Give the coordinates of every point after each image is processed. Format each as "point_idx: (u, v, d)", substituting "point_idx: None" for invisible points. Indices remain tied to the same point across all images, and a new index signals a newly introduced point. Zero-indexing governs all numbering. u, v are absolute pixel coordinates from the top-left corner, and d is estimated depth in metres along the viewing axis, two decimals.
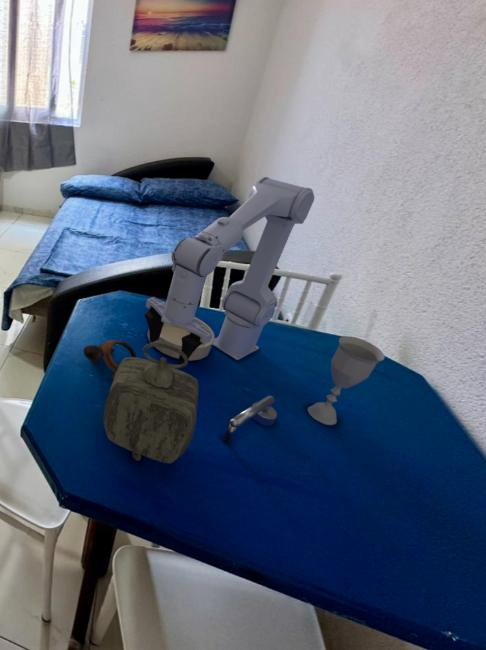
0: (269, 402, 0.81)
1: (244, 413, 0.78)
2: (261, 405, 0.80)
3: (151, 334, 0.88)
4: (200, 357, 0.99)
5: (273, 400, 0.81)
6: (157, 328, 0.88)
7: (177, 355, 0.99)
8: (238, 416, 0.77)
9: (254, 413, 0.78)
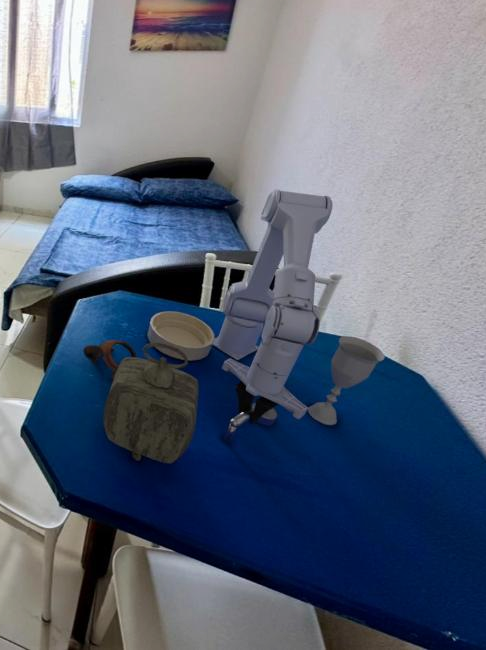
0: None
1: (244, 413, 0.78)
2: None
3: (241, 408, 0.79)
4: (200, 357, 0.99)
5: None
6: (248, 402, 0.78)
7: (177, 355, 0.99)
8: (238, 416, 0.77)
9: None
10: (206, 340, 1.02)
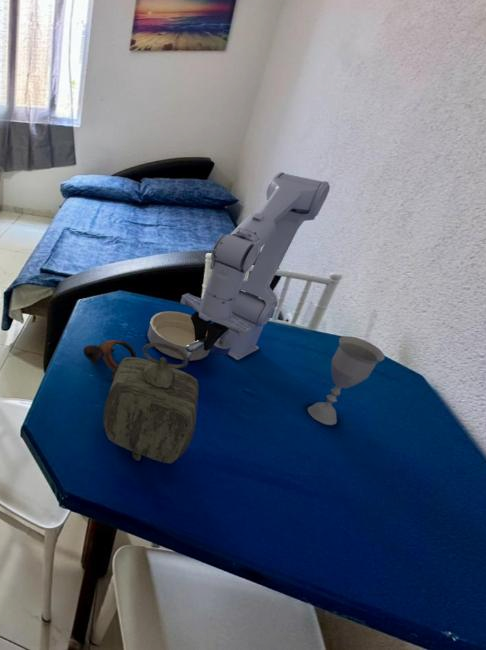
0: None
1: (199, 340, 0.86)
2: None
3: (197, 337, 0.87)
4: (200, 357, 0.99)
5: (227, 331, 0.90)
6: (203, 331, 0.87)
7: (177, 355, 0.99)
8: (193, 342, 0.86)
9: None
10: None
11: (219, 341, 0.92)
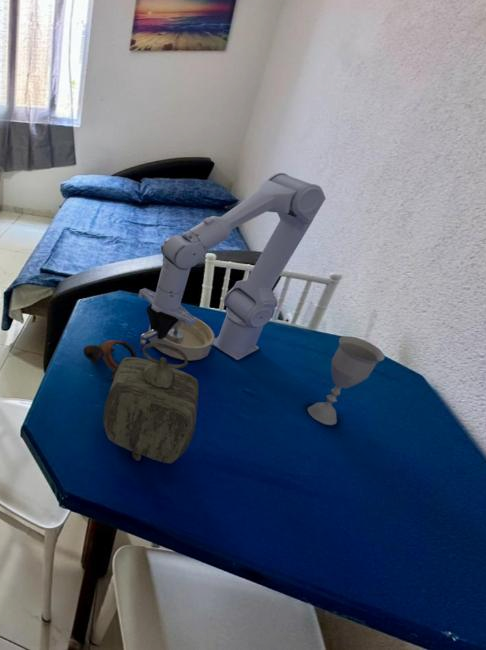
0: (176, 323, 0.99)
1: (153, 330, 0.96)
2: None
3: (152, 327, 0.97)
4: (200, 357, 0.99)
5: (180, 322, 1.00)
6: (157, 321, 0.97)
7: (177, 355, 0.99)
8: (148, 332, 0.96)
9: None
10: (206, 340, 1.02)
11: (174, 331, 1.02)
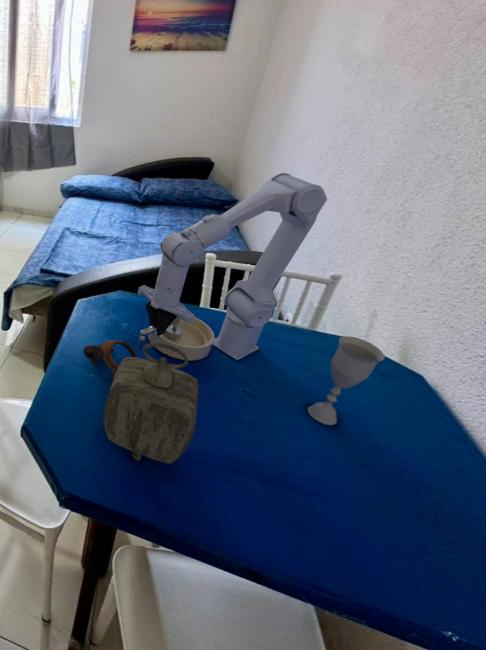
0: (175, 320, 1.01)
1: (152, 326, 0.98)
2: None
3: (151, 323, 0.99)
4: (200, 357, 0.99)
5: (179, 319, 1.01)
6: (156, 318, 0.98)
7: (177, 355, 0.99)
8: (147, 328, 0.97)
9: None
10: (206, 340, 1.02)
11: (173, 328, 1.03)
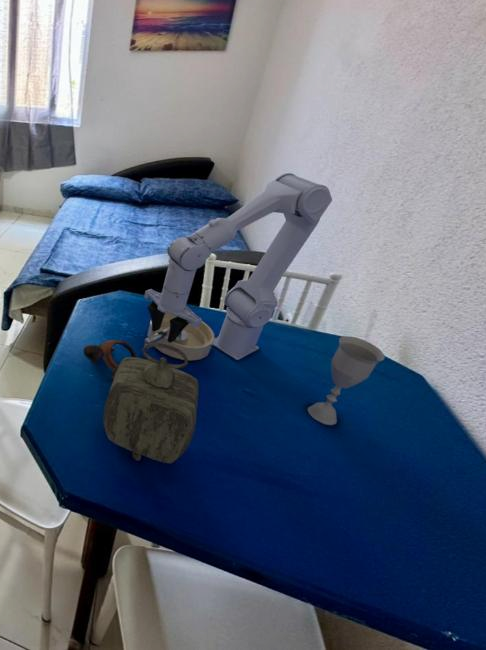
0: None
1: (157, 334, 0.98)
2: None
3: (153, 324, 1.00)
4: (200, 357, 0.99)
5: None
6: (158, 319, 1.00)
7: (177, 355, 0.99)
8: (151, 336, 0.98)
9: (165, 334, 0.99)
10: (206, 340, 1.02)
11: None
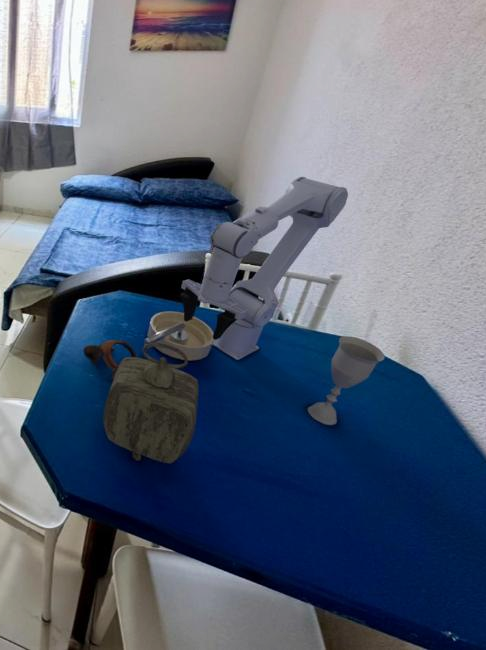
0: (180, 326, 1.01)
1: (157, 334, 0.98)
2: (172, 328, 1.00)
3: (186, 313, 0.95)
4: (200, 357, 0.99)
5: (183, 325, 1.02)
6: (191, 308, 0.95)
7: (177, 355, 0.99)
8: (151, 336, 0.98)
9: (165, 334, 0.99)
10: (206, 340, 1.02)
11: (178, 333, 1.04)
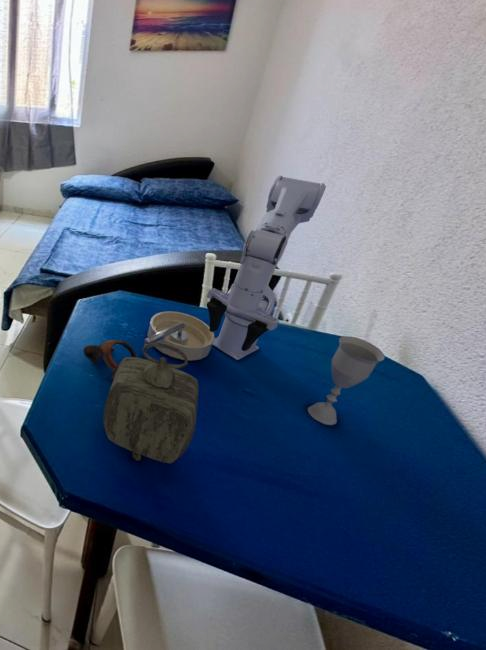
0: (180, 326, 1.01)
1: (157, 334, 0.98)
2: (172, 328, 1.00)
3: (212, 324, 0.91)
4: (200, 357, 0.99)
5: (183, 325, 1.02)
6: (218, 318, 0.91)
7: (177, 355, 0.99)
8: (151, 336, 0.98)
9: (165, 334, 0.99)
10: (206, 340, 1.02)
11: (178, 333, 1.04)
